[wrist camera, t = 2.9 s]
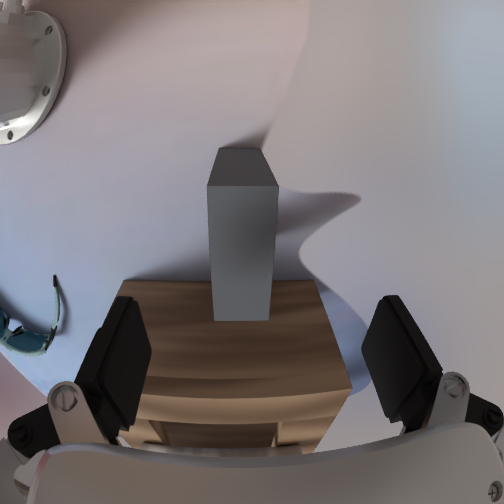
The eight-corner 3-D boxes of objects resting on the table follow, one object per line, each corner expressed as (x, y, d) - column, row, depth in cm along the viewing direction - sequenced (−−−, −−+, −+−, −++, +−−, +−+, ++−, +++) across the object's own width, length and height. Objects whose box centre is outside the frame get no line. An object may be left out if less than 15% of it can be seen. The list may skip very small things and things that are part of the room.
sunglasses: (-17, 298, 26) (-33, 317, 21) (-6, 213, 22) (-31, 228, 18) (54, 350, 31) (42, 374, 26) (78, 275, 27) (60, 299, 22)
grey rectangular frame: (218, 148, 20) (206, 186, 11) (260, 148, 20) (278, 186, 12) (220, 240, 23) (214, 321, 15) (256, 240, 24) (268, 320, 16)
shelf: (123, 280, 25) (71, 407, 13) (313, 279, 26) (360, 413, 14) (162, 392, 35) (150, 480, 23) (288, 392, 36) (303, 481, 24)
